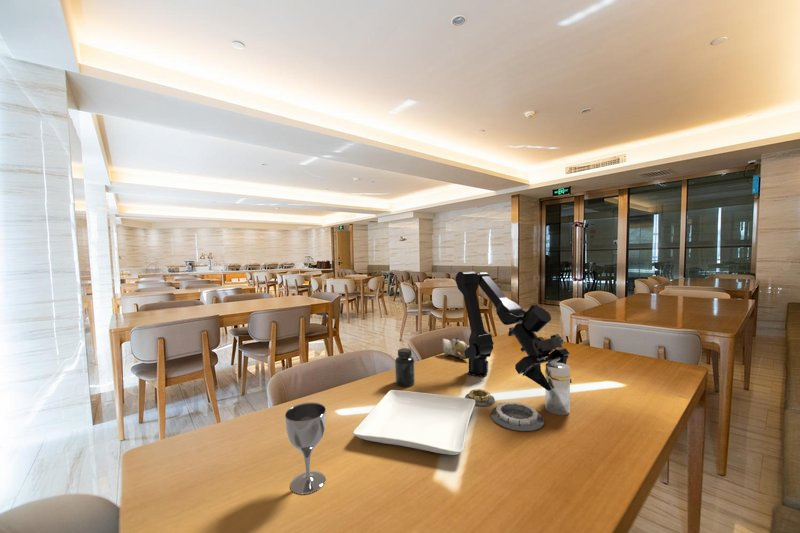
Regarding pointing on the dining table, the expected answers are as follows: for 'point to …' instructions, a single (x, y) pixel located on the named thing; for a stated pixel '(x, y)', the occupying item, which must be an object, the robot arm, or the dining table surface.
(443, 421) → the square plate
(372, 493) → the dining table surface
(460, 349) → the ceramic sculpture
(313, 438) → the wine glass
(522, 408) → the collar
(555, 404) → the cylinder
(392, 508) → the dining table surface
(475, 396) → the brass collar
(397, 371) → the supplement bottle
